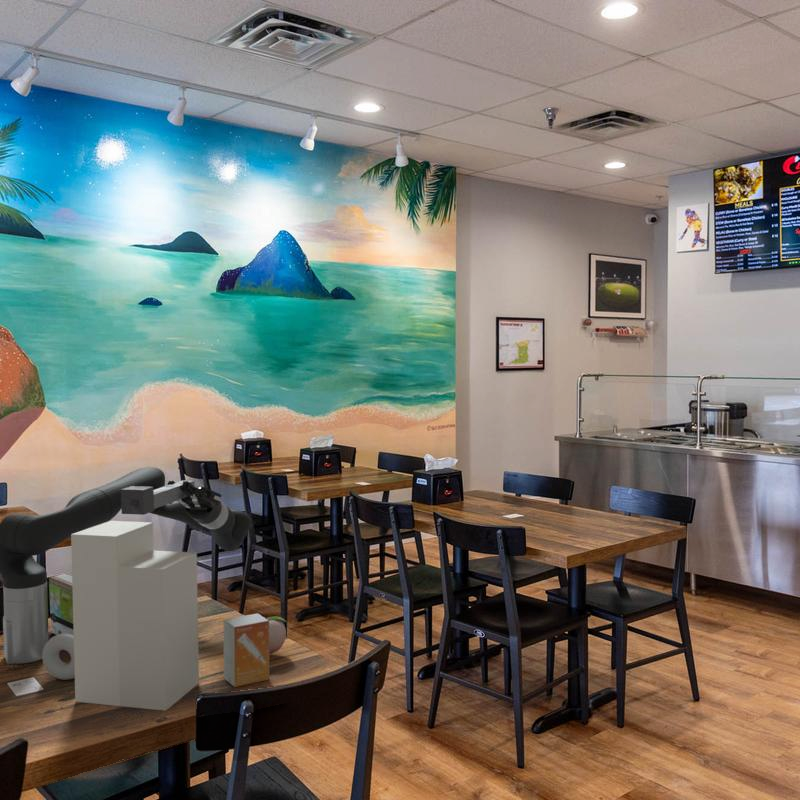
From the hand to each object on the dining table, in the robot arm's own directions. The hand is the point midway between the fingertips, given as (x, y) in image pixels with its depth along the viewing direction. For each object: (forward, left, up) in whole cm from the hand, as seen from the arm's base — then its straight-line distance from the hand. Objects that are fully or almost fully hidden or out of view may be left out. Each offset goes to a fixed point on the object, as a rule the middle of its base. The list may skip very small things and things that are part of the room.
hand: (176, 484), depth 184 cm
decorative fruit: (+18, -7, -41) cm, 45 cm away
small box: (+9, -17, -41) cm, 45 cm away
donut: (-24, +4, -41) cm, 47 cm away
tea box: (-15, +32, -41) cm, 54 cm away
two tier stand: (-12, -11, -41) cm, 44 cm away
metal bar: (-5, -5, -3) cm, 7 cm away
